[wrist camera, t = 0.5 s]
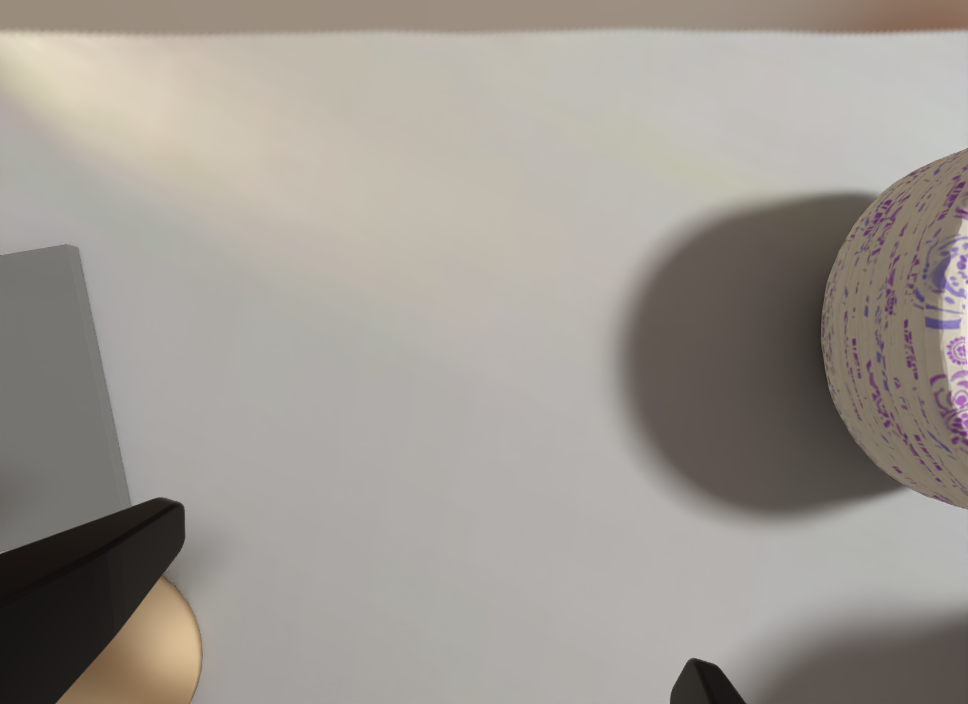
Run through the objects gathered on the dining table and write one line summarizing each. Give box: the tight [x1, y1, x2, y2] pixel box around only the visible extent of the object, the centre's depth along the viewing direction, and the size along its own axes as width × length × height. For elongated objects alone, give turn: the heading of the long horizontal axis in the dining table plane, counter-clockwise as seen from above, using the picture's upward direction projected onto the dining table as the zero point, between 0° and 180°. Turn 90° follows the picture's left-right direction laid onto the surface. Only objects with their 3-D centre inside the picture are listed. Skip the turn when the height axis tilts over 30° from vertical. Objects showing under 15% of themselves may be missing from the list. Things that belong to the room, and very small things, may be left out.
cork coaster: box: [56, 575, 203, 704], centre depth 20 cm, size 9×9×1 cm
